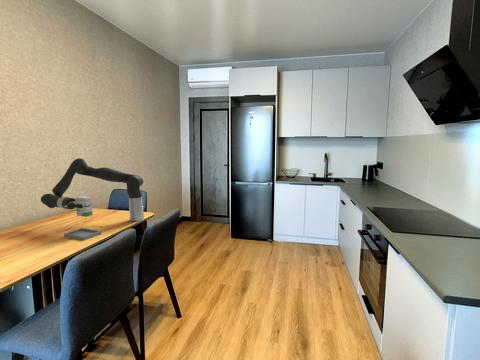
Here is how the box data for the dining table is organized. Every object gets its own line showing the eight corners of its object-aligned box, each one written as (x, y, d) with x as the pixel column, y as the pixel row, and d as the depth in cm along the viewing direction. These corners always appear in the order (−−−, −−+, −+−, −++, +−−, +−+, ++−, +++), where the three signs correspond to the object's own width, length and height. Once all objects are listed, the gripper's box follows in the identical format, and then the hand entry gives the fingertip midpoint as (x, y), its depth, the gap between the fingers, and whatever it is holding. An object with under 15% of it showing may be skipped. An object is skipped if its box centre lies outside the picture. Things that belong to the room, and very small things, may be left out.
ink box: (93, 215, 170) (92, 196, 168) (86, 217, 165) (85, 198, 164) (83, 213, 173) (81, 195, 171) (76, 215, 168) (74, 197, 167)
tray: (82, 230, 174) (82, 227, 174) (101, 233, 168) (101, 230, 168) (63, 237, 162) (63, 233, 162) (84, 240, 156) (83, 236, 156)
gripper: (55, 199, 167) (75, 201, 161) (76, 195, 180) (95, 197, 174) (56, 211, 168) (75, 214, 162) (77, 206, 181) (96, 208, 175)
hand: (85, 205), depth 168 cm, fingers closed on ink box, 5 cm apart
